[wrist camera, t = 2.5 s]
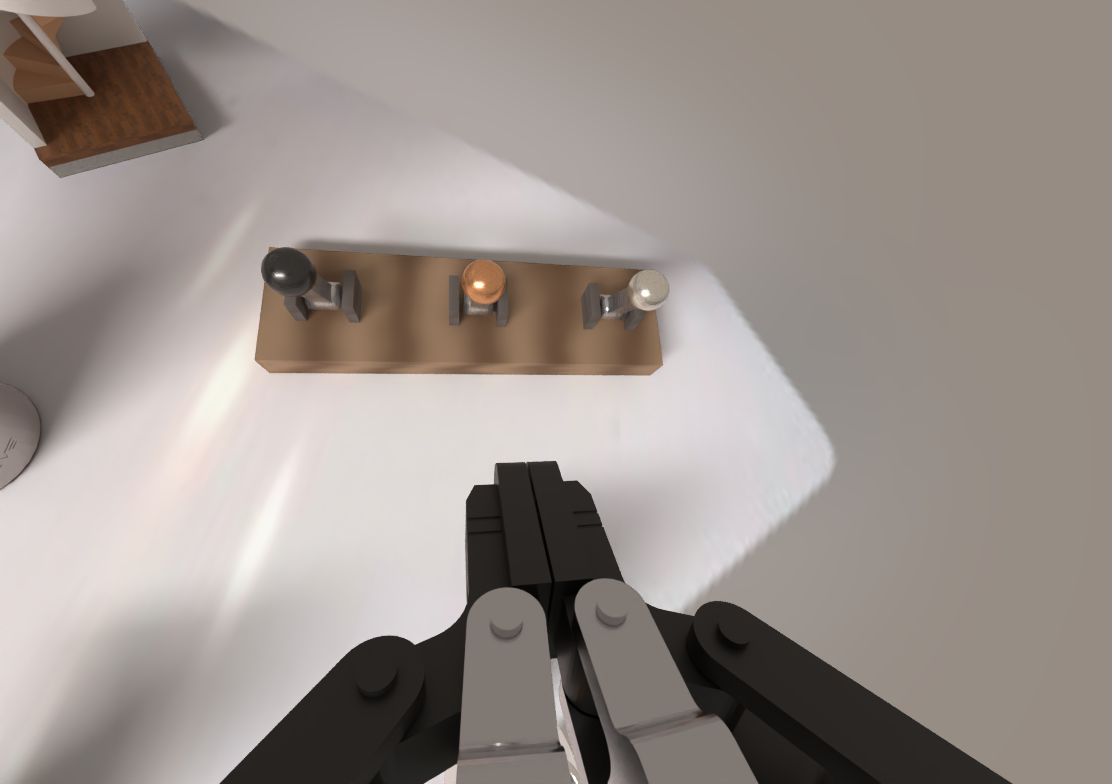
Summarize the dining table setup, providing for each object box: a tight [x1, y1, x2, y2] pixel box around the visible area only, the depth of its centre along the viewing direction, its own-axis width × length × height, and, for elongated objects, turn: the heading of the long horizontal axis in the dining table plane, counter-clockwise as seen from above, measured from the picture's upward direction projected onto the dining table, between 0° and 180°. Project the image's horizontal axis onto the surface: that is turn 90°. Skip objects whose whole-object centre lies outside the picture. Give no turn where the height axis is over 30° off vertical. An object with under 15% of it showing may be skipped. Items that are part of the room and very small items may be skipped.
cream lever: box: [599, 270, 669, 320], centre depth 37 cm, size 3×3×11 cm
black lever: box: [261, 247, 343, 310], centre depth 32 cm, size 3×3×11 cm
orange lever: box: [462, 259, 506, 316], centre depth 35 cm, size 3×3×11 cm
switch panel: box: [255, 247, 663, 375], centre depth 40 cm, size 34×10×6 cm, turn 93°
